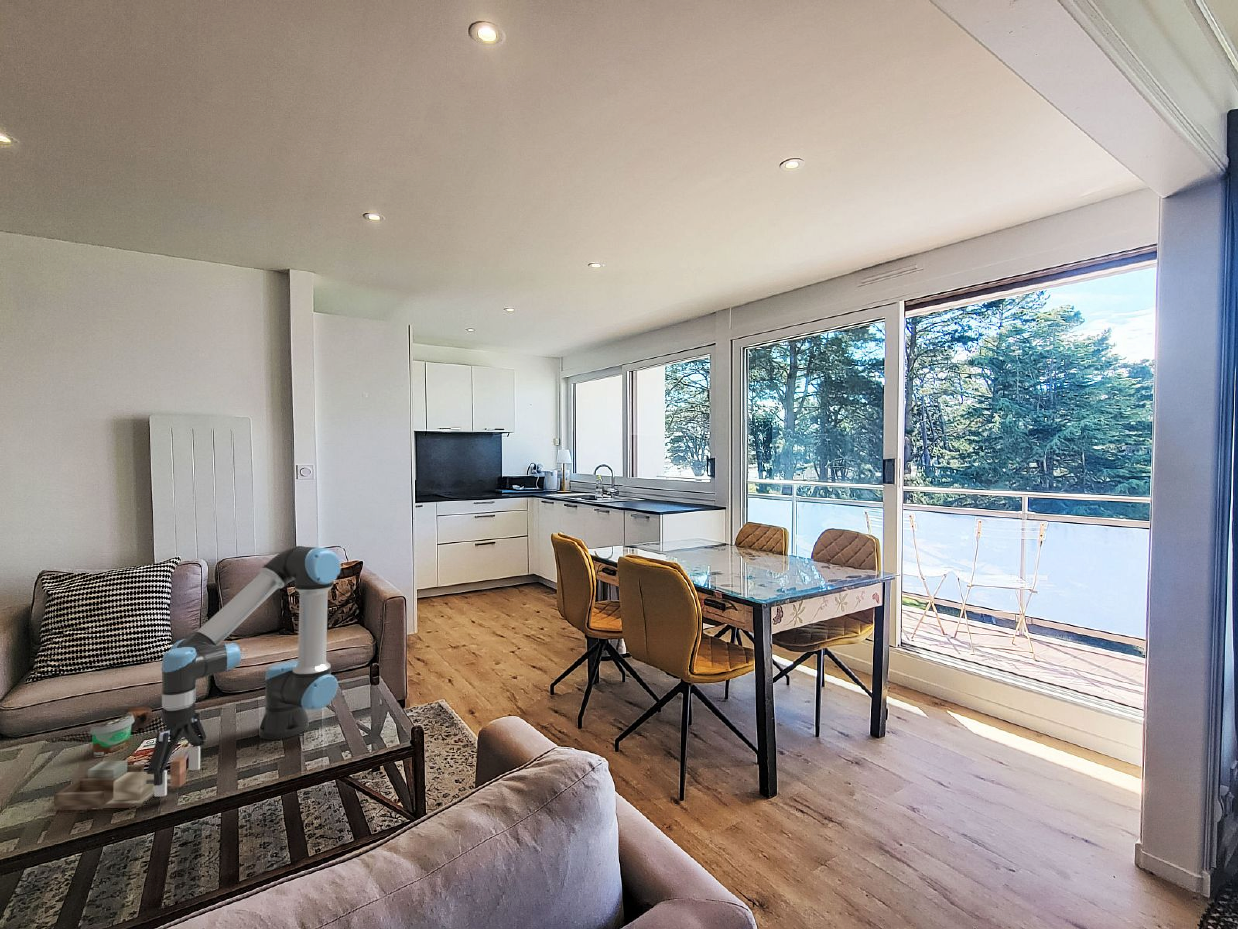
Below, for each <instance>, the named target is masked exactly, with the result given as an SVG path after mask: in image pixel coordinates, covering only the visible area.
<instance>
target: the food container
mask: <svg viewBox="0 0 1238 929" xmlns="http://www.w3.org/2000/svg"><path fill="white" fill-rule="evenodd" d="M121 717H122V716H121ZM121 717H119V718H117V719H113V720H110V721H107V722H106V723H104V724H102V725H100V726H91V728H90V730H89V735H91V738H92V739H91V740H92V748H93V756H101V755H105V754H108V753H113V752H116V751H118V750H120V749H123V748H124V747H126V746H128V745H129V746H130V743H131V742H130V740H131V734H132V733H131V725H132V723H134V716H133V715H132V713H129V712H128V713H127V716H124V717H122V718H121Z"/></svg>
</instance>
